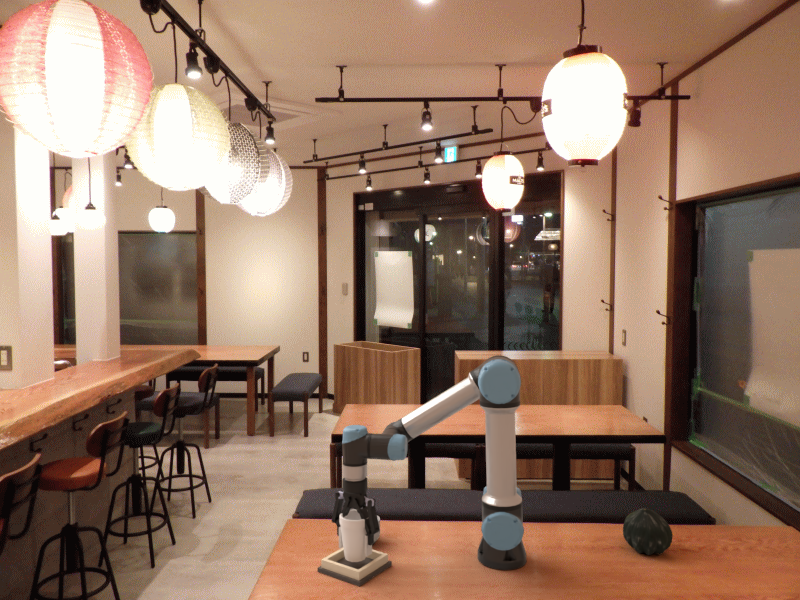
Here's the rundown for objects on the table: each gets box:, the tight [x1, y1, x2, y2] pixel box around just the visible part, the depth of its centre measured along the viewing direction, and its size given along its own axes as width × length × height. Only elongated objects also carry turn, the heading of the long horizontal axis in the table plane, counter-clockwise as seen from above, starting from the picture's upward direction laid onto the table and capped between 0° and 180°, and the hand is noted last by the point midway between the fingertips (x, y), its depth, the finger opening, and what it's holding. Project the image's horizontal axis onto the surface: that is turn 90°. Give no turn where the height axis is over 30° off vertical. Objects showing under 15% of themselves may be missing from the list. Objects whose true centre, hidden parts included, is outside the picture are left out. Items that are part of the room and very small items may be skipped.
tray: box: [317, 548, 393, 587], centre depth 189 cm, size 16×16×4 cm
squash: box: [622, 507, 674, 556], centre depth 202 cm, size 14×15×15 cm
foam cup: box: [339, 508, 366, 562], centre depth 189 cm, size 10×9×13 cm
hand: (355, 550), depth 189 cm, fingers closed on foam cup, 9 cm apart
